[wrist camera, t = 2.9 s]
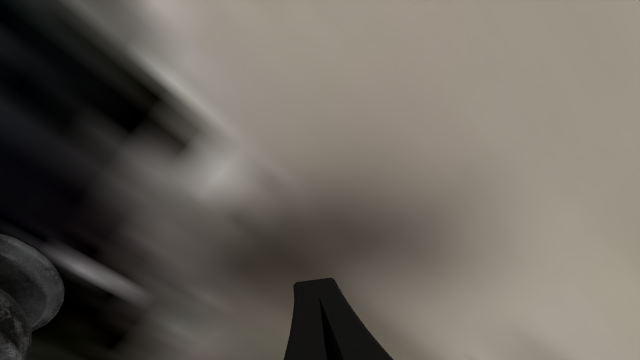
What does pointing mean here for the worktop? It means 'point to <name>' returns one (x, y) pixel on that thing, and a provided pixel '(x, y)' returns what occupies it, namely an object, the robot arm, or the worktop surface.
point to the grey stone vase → (25, 296)
